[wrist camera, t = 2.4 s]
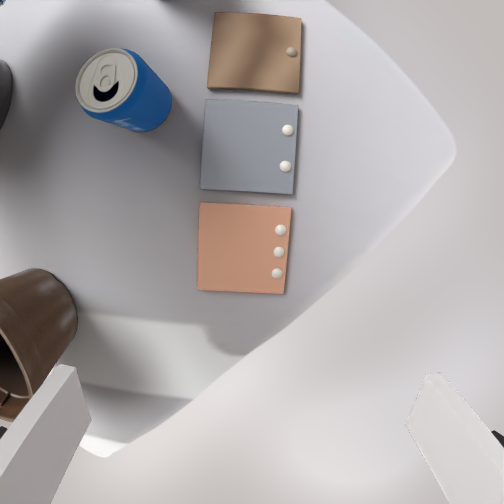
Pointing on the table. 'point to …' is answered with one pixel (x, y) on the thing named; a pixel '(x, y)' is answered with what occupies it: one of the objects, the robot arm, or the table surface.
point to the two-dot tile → (249, 146)
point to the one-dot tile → (255, 52)
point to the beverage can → (122, 91)
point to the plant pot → (31, 335)
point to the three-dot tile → (242, 247)
